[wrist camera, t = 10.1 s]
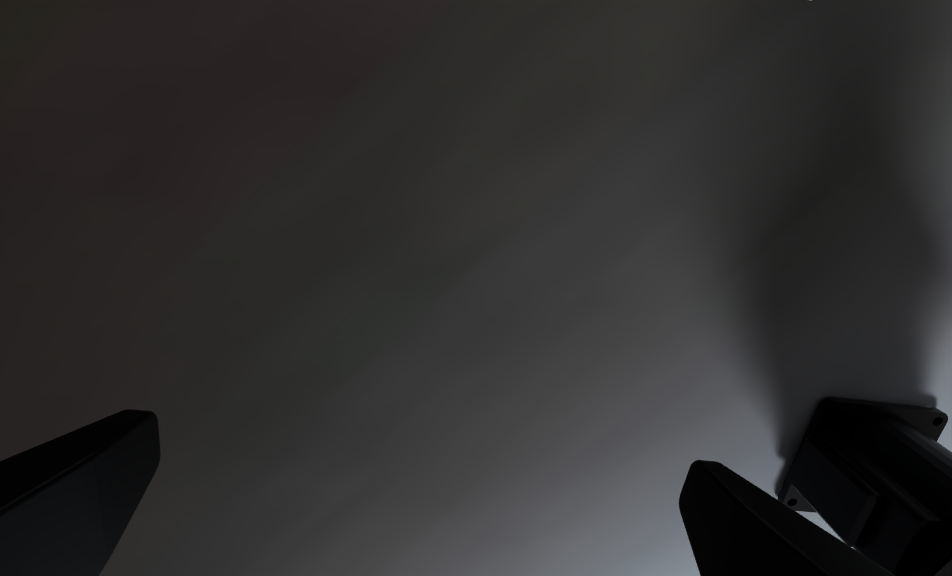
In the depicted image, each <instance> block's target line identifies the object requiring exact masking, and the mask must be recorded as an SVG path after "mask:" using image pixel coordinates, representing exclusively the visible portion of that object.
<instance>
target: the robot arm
mask: <svg viewBox="0 0 952 576" xmlns="http://www.w3.org/2000/svg"><path fill="white" fill-rule="evenodd" d="M831 407H832V408H831ZM830 408H831V409H830ZM829 409H830V410H829ZM947 421H948V416H947V415H946V414H945V413H944V412H942V411H940V410H939V409H936V408H930V407H920V406H911V405H902V404H892V403H883V402H873V401H864V400H855V399H845V398H836V397H827V398H825V399H823V400H822V401H821V402H820V403H819V404H818V406H817V409H816V411H815V413H814V416H813V418H812V420H811V422H810V425H809V427H808V429H807V432H806V434H805V436H804V438H803V441H802V443H801V445H800V448H799V450H798V452H797V454H796V457H795V459H794V461H793V463H792V466H791V468H790V470H789V473H788V475H787V477H786V479H785V482H784V484H783V486H782V489H781V491H780V493H779V495H778V500H777V499H775V498H774V497H772V496H771V495H769V494H768V493H766V492H764V491H763V490H761V489H760V488H758V487H757V486H755V485H754V484H752V483H750V482H749V481H747V480H746V479H744V478H743V477H741V476H740V475H738V474H736V473H735V472H733V471H732V470H730V469H729V468H727V467H726V466H724V465H722V464H721V463H719V462H715V461H704V460H697V461H694V462H693V463H692V464H691V466H690V468H689V471H688V474H687V477H686V480H685V483H684V485H683V488H682V491H681V494H680V498H679V508H680V513H681V516H682V519H683V522H684V525H685V528H686V532H687V535H688V538H689V541H690V544H691V547H692V550H693V554H694V557H695V560H696V563H697V566H698V569H699V572H700V575H701V576H952V452H951V451H949V450H948V449H946V448H945V447H943V446H942V445H940V444H939V443H938V442H937V440H938V438H939V436H940V434H941V433H942V431H943V429H944V427H945V425H946V423H947ZM159 461H160V441H159V428H158V419H157V416H156V414H155V413H153V412H152V411H143V410H132V409H127V410H123V411H121V412H118V413H116V414H113V415H111V416H108V417H106V418H104V419H101V420H99V421H96V422H94V423H92V424H89V425H87V426H84V427H82V428H79V429H77V430H75V431H72V432H70V433H67V434H65V435H63V436H60V437H58V438H55V439H53V440H50V441H48V442H46V443H43V444H41V445H38V446H36V447H34V448H31V449H29V450H26V451H24V452H22V453H19V454H17V455H14V456H12V457H9V458H7V459H5V460H2V461H0V576H99V575H100V573H101V571H102V570H103V568H104V567H105V565H106V563H107V562H108V560H109V558H110V557H111V555H112V553H113V551H114V549H115V548H116V546H117V544H118V542H119V540H120V538H121V536H122V535H123V533H124V531H125V529H126V527H127V525H128V523H129V521H130V519H131V518H132V516H133V514H134V512H135V510H136V508H137V506H138V504H139V502H140V501H141V499H142V497H143V495H144V493H145V491H146V489H147V487H148V485H149V484H150V482H151V480H152V478H153V476H154V474H155V472H156V470H157V468H158V465H159ZM795 511H806V512H817V513H818V514H819V515H820V516H821V517H822V518H823V520H824V521H825V522H826V523H827V524H828V525H829V526H830V527H831V528H832V530H833V531H834V532H835V533H836V534H837V535H838V536H839V537H840V538H841V539H842V541H843V542H842V541H841V540H839V539H837V538H836V537H834V536H833V535H831V534H830V533H828V532H827V531H825V530H823V529H822V528H820V527H819V526H817V525H816V524H814V523H813V522H811V521H809V520H808V519H806V518H805V517H803V516H802V515H800V514H799V513H797V512H795ZM851 547H853V548H854V549H855V550H854V549H853V548H851Z"/></svg>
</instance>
